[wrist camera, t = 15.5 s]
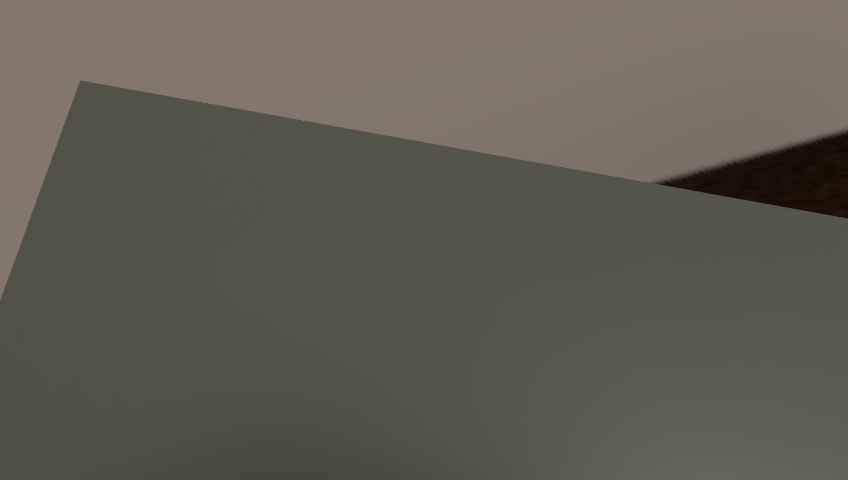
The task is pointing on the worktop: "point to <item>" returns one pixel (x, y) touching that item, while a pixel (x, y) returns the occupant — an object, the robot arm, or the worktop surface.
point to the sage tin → (404, 313)
